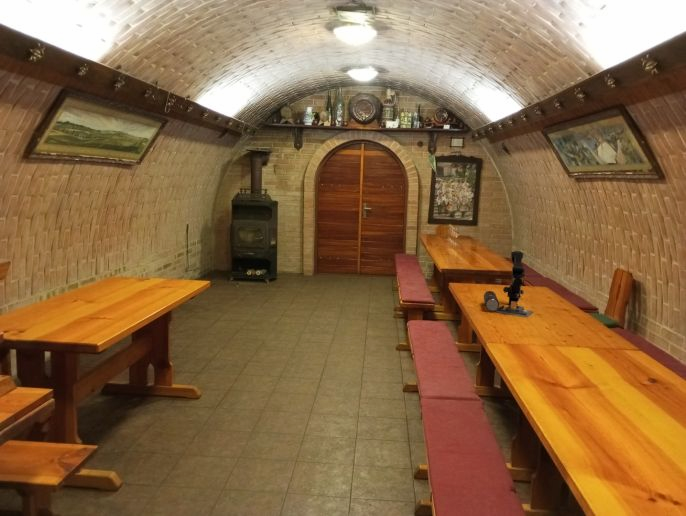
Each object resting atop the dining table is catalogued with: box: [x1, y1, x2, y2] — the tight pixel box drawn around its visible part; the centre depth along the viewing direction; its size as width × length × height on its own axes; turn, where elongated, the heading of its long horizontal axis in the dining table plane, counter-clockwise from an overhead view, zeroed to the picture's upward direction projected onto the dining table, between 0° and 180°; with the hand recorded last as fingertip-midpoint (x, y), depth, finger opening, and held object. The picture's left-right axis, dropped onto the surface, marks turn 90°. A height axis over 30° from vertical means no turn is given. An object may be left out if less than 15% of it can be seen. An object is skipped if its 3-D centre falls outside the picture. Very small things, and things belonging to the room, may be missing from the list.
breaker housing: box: [505, 305, 527, 312], centre depth 388 cm, size 13×12×2 cm
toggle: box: [510, 301, 518, 309], centre depth 385 cm, size 3×3×7 cm
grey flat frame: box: [496, 305, 527, 315], centre depth 389 cm, size 15×20×1 cm
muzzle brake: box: [483, 290, 500, 312], centre depth 399 cm, size 10×28×10 cm, turn 169°
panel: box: [494, 306, 534, 318], centre depth 389 cm, size 16×22×1 cm
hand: (514, 305), depth 388 cm, fingers closed
